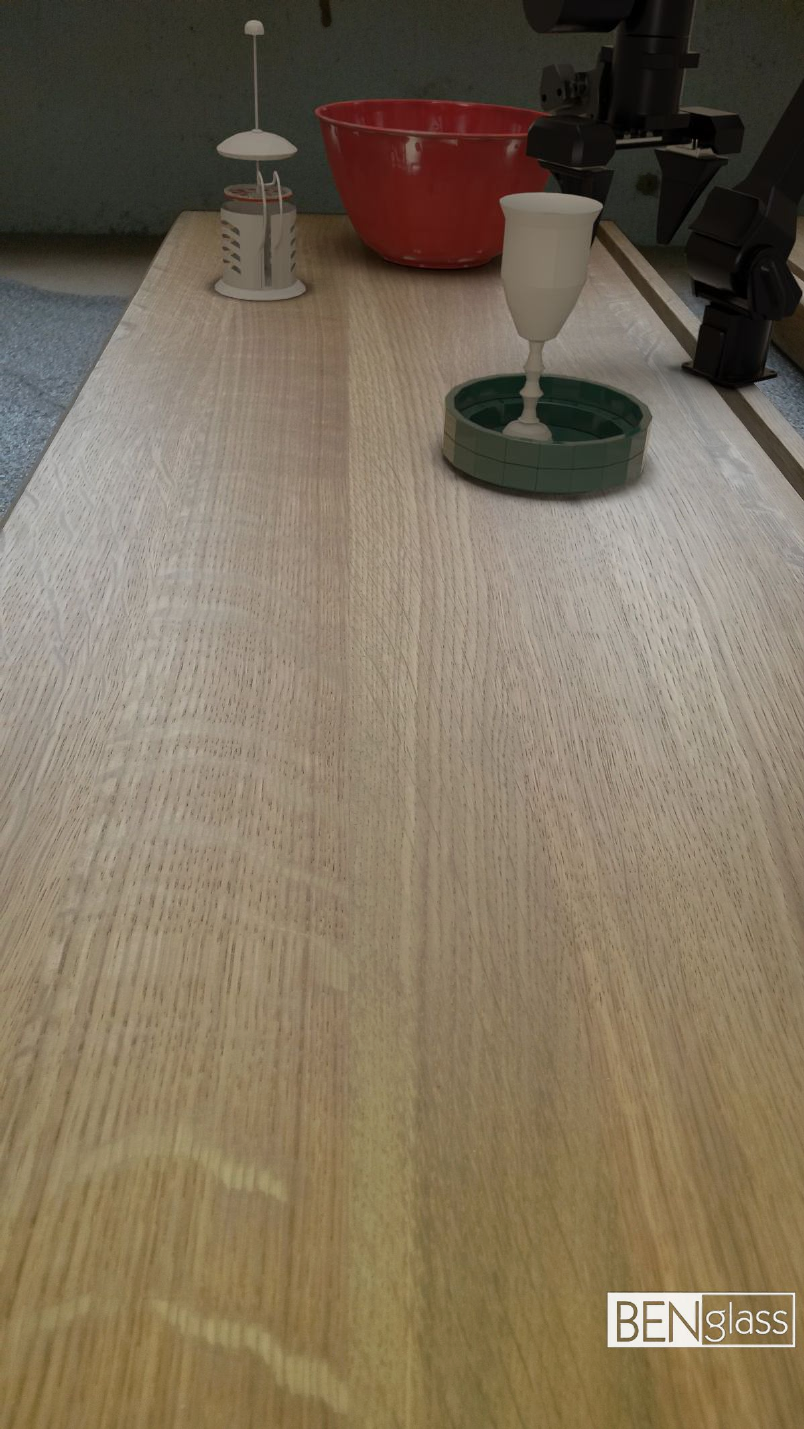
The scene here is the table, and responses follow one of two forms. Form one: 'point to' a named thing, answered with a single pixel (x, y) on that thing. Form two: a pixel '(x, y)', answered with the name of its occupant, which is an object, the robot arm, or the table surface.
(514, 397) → the dish
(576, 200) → the chalice
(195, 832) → the table surface
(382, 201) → the mixing bowl
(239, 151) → the french press
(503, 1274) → the table surface
